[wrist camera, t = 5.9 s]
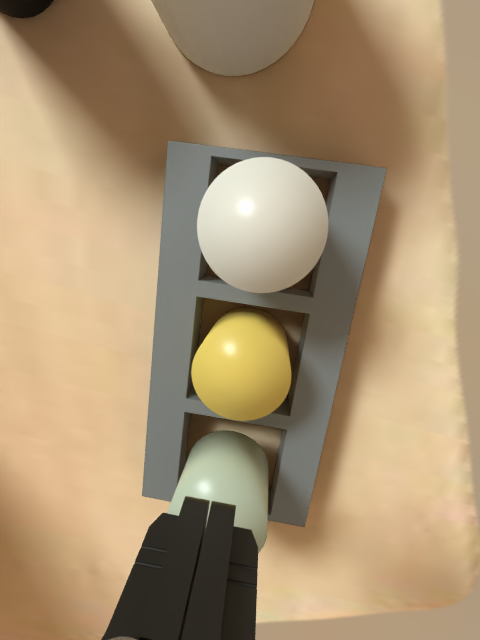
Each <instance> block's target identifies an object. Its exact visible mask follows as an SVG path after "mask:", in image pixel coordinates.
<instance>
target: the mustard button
mask: <svg viewBox="0 0 480 640" xmlns="http://www.w3.org/2000/svg"><path fill="white" fill-rule="evenodd" d="M191 375H192V382H193V386H194V388H195V391H196V393H197V395H198V397H199V398H200V399H201V401H202V402H203V403H204V404H205V405H206V406H207V407H208V408H209V409H210V410H211V411H213V412H215V413H216V414H218V415H220V416H222V417H225V418H227V419H231V420H237V421H250V420H255V419H259V418H262V417H265V416H267V415H268V414H270V413H272V412H273V411H274V410H276V409H277V408H278V407H279V406H280V405H281V404H282V402H283V401H284V399H285V398H286V396H287V394H288V392H289V389H290V385H291V366H290V358H289V350H288V342H287V337H286V334H285V332H284V330H283V328H282V326H281V325H280V323H279V322H278V321H277V320H276V319H275V318H274V317H272V316H271V315H270V314H268V313H266V312H264V311H261V310H259V309H254V308H240V309H235V310H232V311H230V312H228V313H226V314H225V315H223V316H222V317H221V318H219V319H218V321H217V322H216V323H215V324H214V326H213V327H212V329H211V330H210V332H209V333H208V335H207V336H206V338H205V339H204V341H203V343H202V344H201V346H200V347H199V349H198V350H197V352H196V354H195V356H194V359H193V363H192V371H191Z"/></svg>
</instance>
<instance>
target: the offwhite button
mask: <svg viewBox="0 0 480 640" xmlns="http://www.w3.org/2000/svg"><path fill="white" fill-rule="evenodd" d="M197 235H198V241H199V245H200V248H201V251H202V254H203V256H204V258H205V260H206V261H207V263H208V264H209V266H210V267H211V269H212V270H213V271H214V272H215V273H216V274H217V275H218V276H219V277H220V278H221V279H222V280H224V281H225V282H226V283H228V284H230V285H231V286H233V287H235V288H238V289H240V290H243V291H247V292H252V293H271V292H276V291H280V290H283V289H286V288H288V287H290V286H292V285H294V284H295V283H297V282H299V281H300V280H301V279H302V278H304V277H305V276H306V275H307V274H308V273H309V272H310V271H311V270H312V269H313V267H314V266H315V265H316V263H317V262H318V260H319V258H320V256H321V255H322V252H323V250H324V247H325V244H326V240H327V235H328V212H327V208H326V204H325V201H324V198H323V196H322V193H321V192H320V190H319V188H318V186H317V185H316V184H315V182H314V181H313V180H312V178H311V177H310V176H308V175H307V174H306V173H305V172H304V171H303V170H301V169H300V168H299V167H297V166H295V165H294V164H292V163H290V162H287V161H284V160H281V159H277V158H272V157H257V158H251V159H246V160H243V161H241V162H238V163H236V164H234V165H232V166H230V167H229V168H227V169H226V170H225V171H223V172H222V173H221V174H220V175H219V176H218V177H217V178H216V179H215V180H214V181H213V182H212V183H211V185H210V186H209V188H208V189H207V191H206V193H205V194H204V197H203V199H202V201H201V204H200V208H199V212H198V218H197Z"/></svg>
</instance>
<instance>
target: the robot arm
mask: <svg viewBox="0 0 480 640" xmlns="http://www.w3.org/2000/svg"><path fill="white" fill-rule="evenodd" d="M209 504H210V500H205V499H199V498H194V497H189V496H185V498H184V501H183V504H182V507H181V510H180V514H179V516H178V515H172V514H167V513H162V514H161V515H160V516H159V517H158V518H157V519H156V520H155V521H154V522H153V523H152V524H151V525H150V527H149V529H148V531H147V534H146V536H145V539H144V541H143V543H142V547H141V549H140V551H139V553H138V556H137V558H136V560H135V564H134V565H133V568H132V570H131V573H130V575H129V577H128V580H127V582H126V585H125V587H124V590H123V592H122V594H121V597H120V599H119V602H118V604H117V607H116V609H115V611H114V614H113V616H112V619H111V621H110V624H109V626H108V628H107V630H106V632H105V635H104V636H103V638H102V639H101V640H255V627H256V598H257V568H258V546H257V543H256V540H255V538H254V535H253V533H252V530H251V529H246V528H240V527H235V526H234V519H235V511H236V505H232V504H226V503H221V502H216V501H212V502H211V507H210V511H209ZM208 511H209V516H208ZM207 517H208V520H207ZM206 524H207V525H206Z"/></svg>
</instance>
